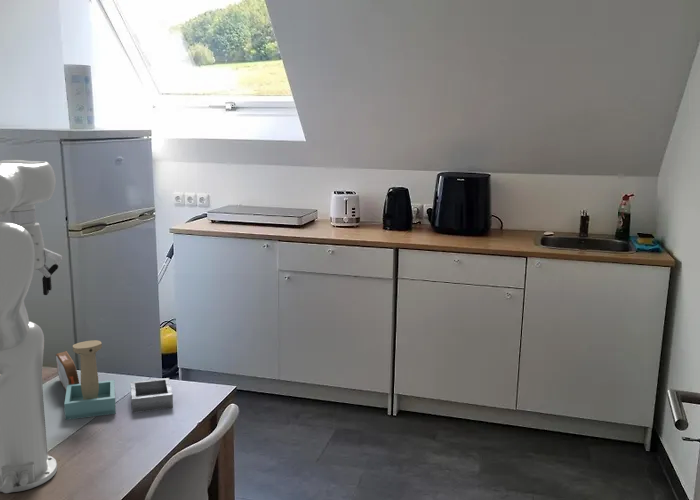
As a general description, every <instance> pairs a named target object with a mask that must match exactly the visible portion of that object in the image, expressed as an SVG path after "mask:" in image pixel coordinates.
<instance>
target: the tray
mask: <svg viewBox="0 0 700 500" xmlns="http://www.w3.org/2000/svg"><path fill="white" fill-rule="evenodd" d="M115 385H116V383H115V379H113V380H111V379H110V380H104V381H103V380H101V381H99V392H98V396H97V397H98V398H96V399H87V400H83V395H82V390H81V383H79V384H73V385H67V390H65V397H64V398H65V399H64V419H65V421H68V420H75V419H83V418H91V417H92V418H93V417H99V416H107V415H115V414H117V413H116V411H117V410H116V408H117V407H116V386H115Z"/></svg>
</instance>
